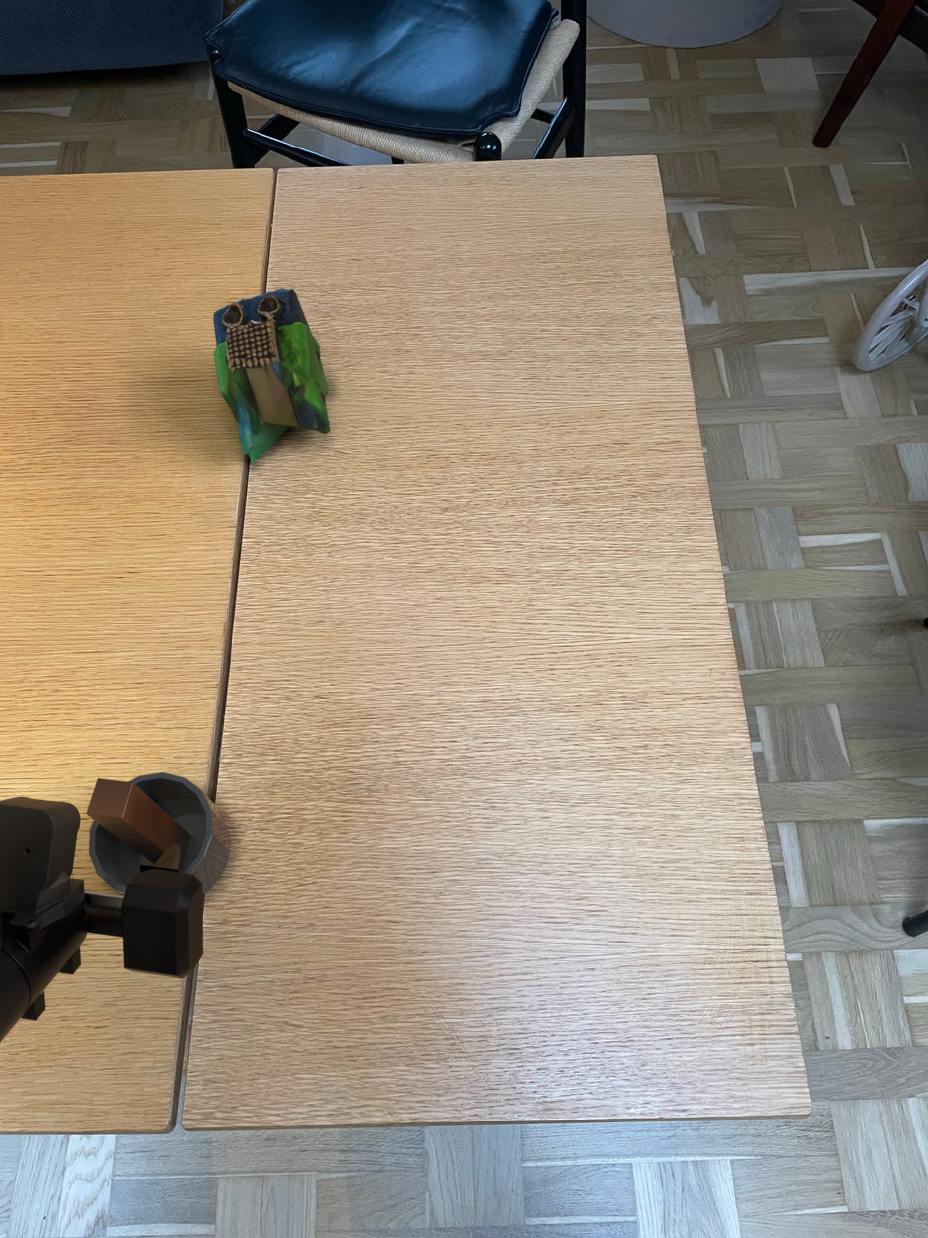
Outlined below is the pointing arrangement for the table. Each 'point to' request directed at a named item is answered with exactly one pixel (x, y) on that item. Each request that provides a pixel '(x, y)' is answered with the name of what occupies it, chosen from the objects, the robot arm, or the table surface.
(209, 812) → the cup
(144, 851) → the brown rectangular bar
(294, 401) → the sculpture
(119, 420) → the table surface
